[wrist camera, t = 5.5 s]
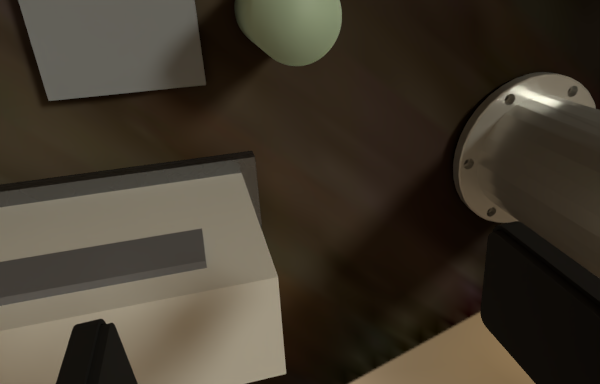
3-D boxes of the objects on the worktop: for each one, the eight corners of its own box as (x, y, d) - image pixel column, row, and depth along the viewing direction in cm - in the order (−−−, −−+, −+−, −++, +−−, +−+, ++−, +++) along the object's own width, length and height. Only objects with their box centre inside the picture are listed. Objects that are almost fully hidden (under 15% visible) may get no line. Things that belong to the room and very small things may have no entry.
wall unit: (252, 150, 31) (298, 254, 20) (261, 247, 35) (306, 383, 23) (-76, 194, 27) (-260, 358, 16) (-27, 299, 31) (-147, 494, 19)
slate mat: (181, -84, 24) (182, -86, 24) (205, 82, 28) (206, 84, 28) (-1, -80, 23) (-7, -81, 22) (51, 97, 27) (48, 101, 26)
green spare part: (303, -33, 27) (341, -35, 21) (306, 43, 29) (342, 61, 23) (230, -29, 26) (247, -31, 20) (238, 49, 28) (256, 70, 22)
